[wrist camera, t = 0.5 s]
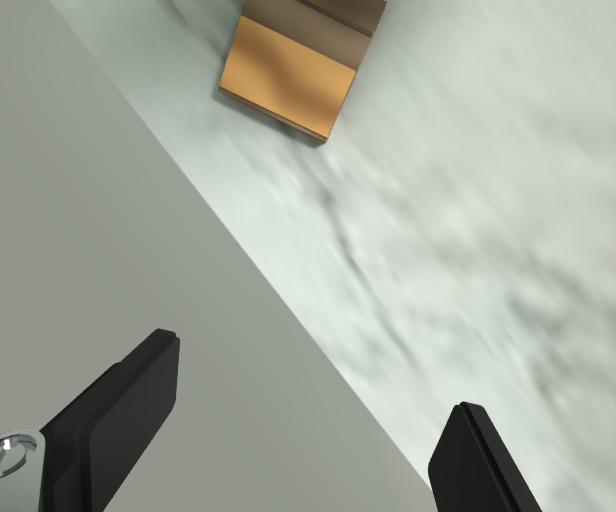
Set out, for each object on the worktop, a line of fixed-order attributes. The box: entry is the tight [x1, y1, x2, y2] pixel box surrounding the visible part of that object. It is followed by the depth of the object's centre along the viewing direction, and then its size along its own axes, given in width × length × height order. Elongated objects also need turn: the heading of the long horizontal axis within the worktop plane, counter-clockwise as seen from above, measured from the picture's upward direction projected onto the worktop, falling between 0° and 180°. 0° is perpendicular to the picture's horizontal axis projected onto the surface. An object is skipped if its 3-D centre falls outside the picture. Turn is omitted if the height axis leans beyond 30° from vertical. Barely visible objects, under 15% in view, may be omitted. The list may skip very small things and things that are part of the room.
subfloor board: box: [218, 0, 387, 143], centre depth 33 cm, size 14×13×2 cm
